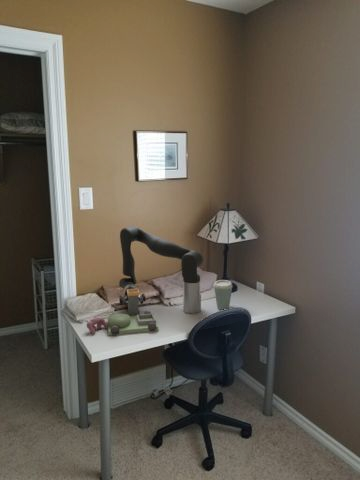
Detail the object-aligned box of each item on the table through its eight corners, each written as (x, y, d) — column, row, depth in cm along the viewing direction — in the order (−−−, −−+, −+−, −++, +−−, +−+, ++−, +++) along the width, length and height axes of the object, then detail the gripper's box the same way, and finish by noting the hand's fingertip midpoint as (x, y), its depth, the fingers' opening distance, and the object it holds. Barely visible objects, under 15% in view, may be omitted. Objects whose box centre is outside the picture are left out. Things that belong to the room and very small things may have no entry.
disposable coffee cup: (231, 312, 214) (232, 286, 211) (211, 310, 216) (212, 284, 213) (232, 304, 224) (233, 280, 221) (214, 303, 226) (214, 278, 223)
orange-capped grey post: (138, 312, 213) (138, 288, 210) (139, 317, 207) (139, 292, 204) (127, 313, 212) (126, 289, 209) (128, 318, 206) (127, 293, 203)
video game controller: (104, 329, 197) (99, 316, 197) (109, 327, 194) (104, 314, 194) (88, 336, 189) (83, 322, 190) (93, 334, 186) (89, 320, 187)
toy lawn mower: (153, 317, 207) (153, 308, 206) (158, 330, 191) (158, 321, 190) (107, 321, 202) (107, 312, 201) (108, 335, 186) (108, 325, 185)
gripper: (117, 287, 219) (119, 297, 204) (143, 285, 222) (146, 295, 207) (118, 300, 221) (120, 311, 205) (143, 298, 224) (147, 308, 208)
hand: (133, 303), depth 206 cm, fingers open, 8 cm apart
